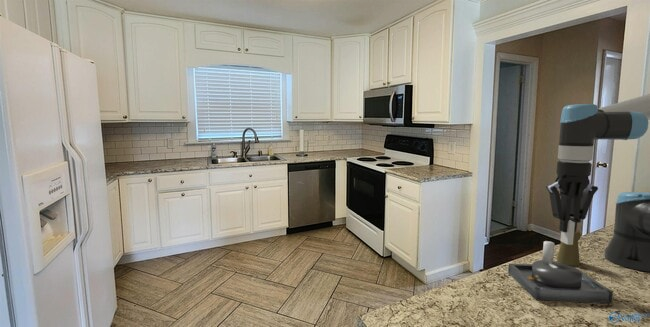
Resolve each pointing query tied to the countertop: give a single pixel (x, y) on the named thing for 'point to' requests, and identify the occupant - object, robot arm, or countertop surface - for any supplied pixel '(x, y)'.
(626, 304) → the countertop surface
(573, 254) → the cork
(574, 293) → the dark grey tray
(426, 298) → the countertop surface
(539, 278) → the lever
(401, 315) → the countertop surface
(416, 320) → the countertop surface
